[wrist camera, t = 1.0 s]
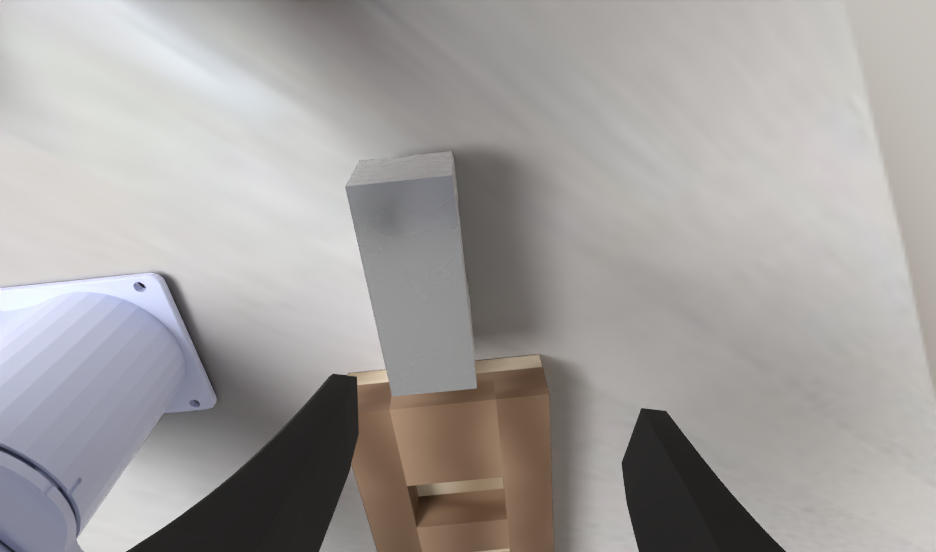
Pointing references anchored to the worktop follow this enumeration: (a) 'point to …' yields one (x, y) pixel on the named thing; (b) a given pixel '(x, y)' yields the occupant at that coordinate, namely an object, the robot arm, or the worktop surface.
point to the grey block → (415, 270)
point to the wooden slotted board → (458, 462)
